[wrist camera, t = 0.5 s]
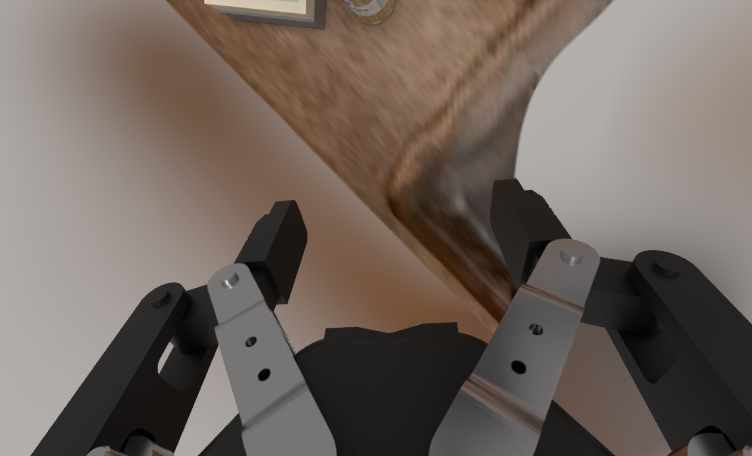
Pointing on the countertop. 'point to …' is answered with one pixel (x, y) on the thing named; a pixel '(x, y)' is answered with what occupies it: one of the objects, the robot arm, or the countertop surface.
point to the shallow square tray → (274, 11)
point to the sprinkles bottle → (371, 10)
